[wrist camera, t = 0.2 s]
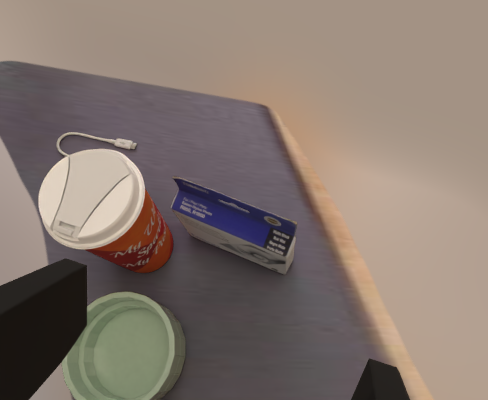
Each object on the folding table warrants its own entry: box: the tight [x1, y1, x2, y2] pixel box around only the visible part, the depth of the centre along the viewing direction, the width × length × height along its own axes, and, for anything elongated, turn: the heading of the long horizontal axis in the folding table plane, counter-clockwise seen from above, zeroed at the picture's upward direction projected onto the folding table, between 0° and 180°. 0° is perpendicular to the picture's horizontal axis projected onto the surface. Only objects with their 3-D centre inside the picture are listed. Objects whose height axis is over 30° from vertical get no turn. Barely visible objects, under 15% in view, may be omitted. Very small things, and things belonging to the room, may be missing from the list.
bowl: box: [62, 291, 186, 400], centre depth 38 cm, size 10×10×5 cm
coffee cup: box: [39, 149, 173, 273], centre depth 38 cm, size 8×8×15 cm
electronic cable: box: [57, 132, 137, 157], centre depth 49 cm, size 4×10×1 cm, turn 75°
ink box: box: [171, 176, 297, 274], centre depth 38 cm, size 12×2×12 cm, turn 65°
